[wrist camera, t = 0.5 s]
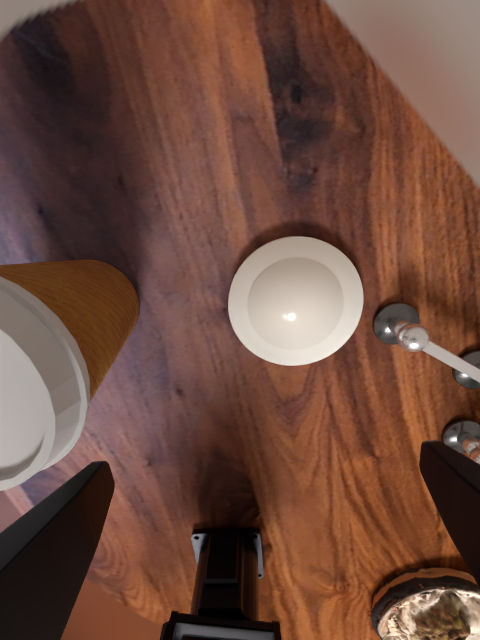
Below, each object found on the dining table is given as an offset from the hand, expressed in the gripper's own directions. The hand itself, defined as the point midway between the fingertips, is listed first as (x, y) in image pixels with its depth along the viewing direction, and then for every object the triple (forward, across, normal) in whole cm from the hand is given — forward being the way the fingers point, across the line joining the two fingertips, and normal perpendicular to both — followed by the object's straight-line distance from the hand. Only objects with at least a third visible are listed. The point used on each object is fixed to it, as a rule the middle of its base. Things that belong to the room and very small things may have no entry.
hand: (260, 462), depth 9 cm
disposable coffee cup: (+14, +11, -2) cm, 18 cm away
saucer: (+14, -3, -1) cm, 14 cm away
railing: (+14, -13, +7) cm, 20 cm away
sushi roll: (+15, -15, +34) cm, 40 cm away
